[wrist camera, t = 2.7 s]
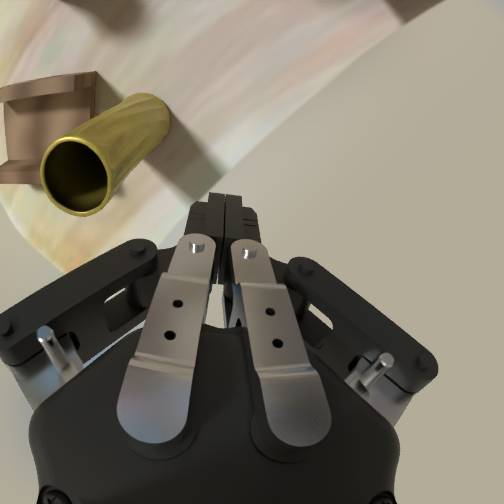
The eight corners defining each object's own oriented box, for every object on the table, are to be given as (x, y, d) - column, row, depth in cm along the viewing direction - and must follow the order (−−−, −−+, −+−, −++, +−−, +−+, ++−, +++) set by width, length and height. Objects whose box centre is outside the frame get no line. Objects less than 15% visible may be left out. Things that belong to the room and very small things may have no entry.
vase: (164, 154, 27) (117, 231, 16) (110, 145, 26) (37, 214, 15) (176, 97, 24) (124, 134, 12) (119, 89, 22) (33, 125, 11)
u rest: (96, 71, 21) (74, 75, 17) (94, 168, 27) (77, 185, 24) (8, 85, 19) (-16, 93, 15) (14, 167, 25) (-6, 183, 22)
